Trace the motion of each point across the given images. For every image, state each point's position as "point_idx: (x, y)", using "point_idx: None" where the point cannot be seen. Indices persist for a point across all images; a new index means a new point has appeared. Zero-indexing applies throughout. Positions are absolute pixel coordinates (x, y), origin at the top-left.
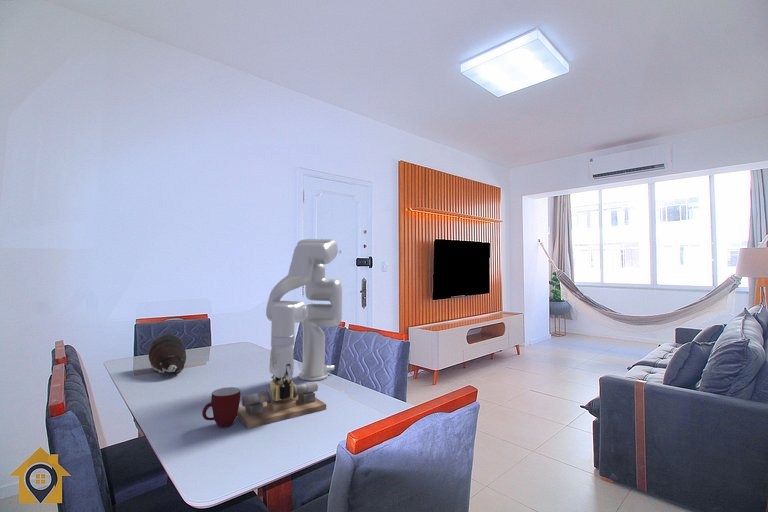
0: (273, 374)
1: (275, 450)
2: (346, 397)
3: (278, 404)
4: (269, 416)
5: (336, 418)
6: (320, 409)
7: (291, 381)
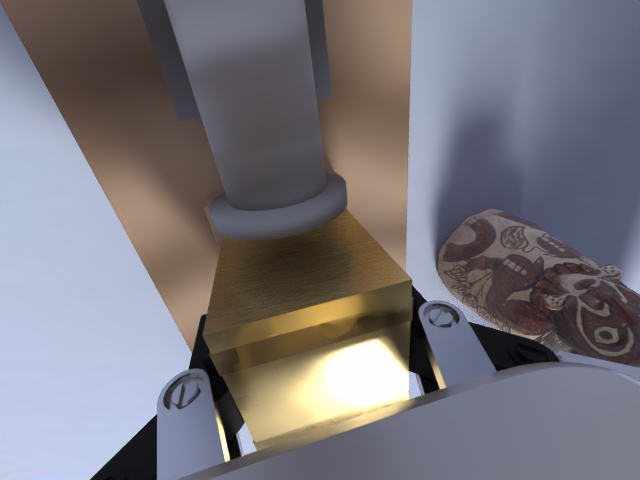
0: (381, 429)
1: None
2: None
3: None
4: (109, 153)
5: (106, 428)
6: None
7: None
